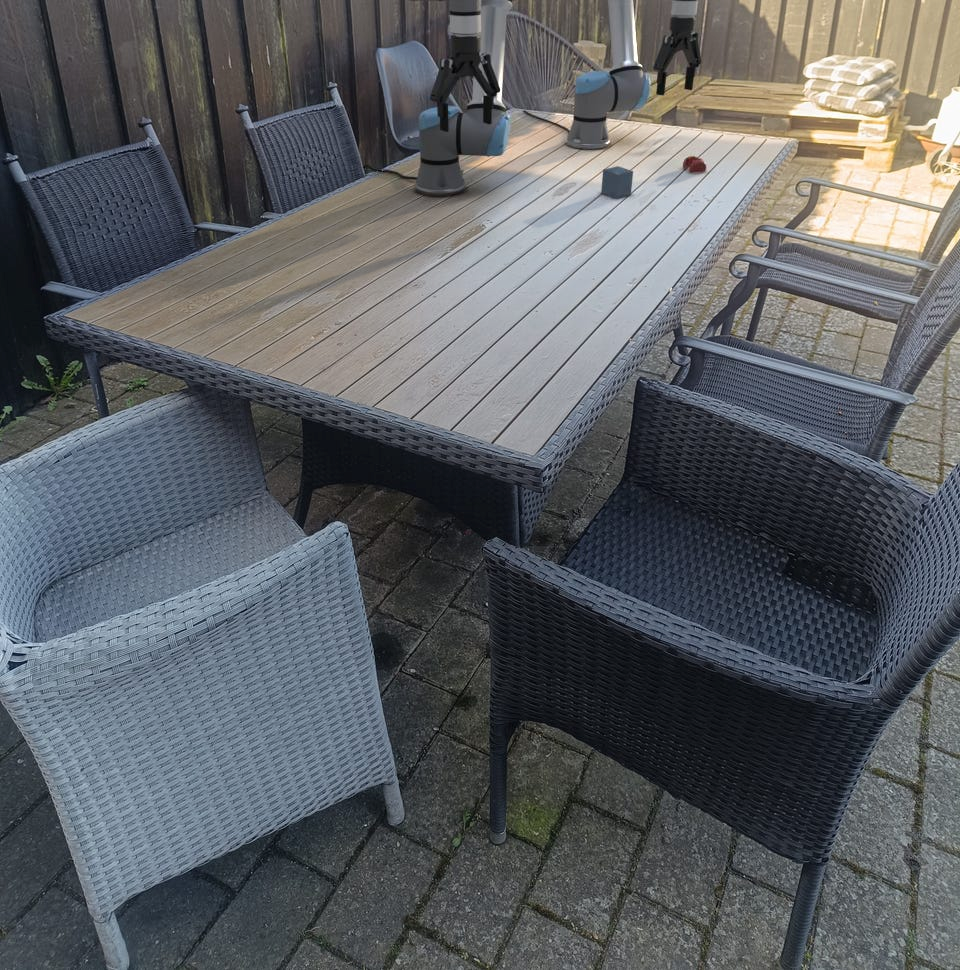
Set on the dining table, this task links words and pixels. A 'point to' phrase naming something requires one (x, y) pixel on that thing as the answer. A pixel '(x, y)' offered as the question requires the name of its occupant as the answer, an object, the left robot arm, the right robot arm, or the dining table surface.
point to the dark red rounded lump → (694, 164)
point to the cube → (617, 182)
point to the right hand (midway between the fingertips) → (674, 92)
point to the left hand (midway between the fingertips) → (466, 127)
